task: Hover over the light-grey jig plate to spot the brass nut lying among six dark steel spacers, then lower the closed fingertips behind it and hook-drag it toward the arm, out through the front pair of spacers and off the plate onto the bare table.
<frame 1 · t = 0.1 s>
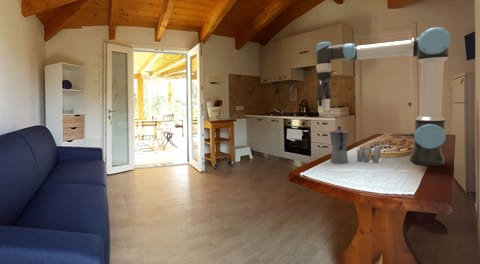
hand: (324, 111, 161), 28 cm above the table, fingers open, 13 cm apart
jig: (369, 161, 159), on the table
moka pot: (339, 164, 157), on the table
nut: (368, 159, 159), point 1 cm above the table, touching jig
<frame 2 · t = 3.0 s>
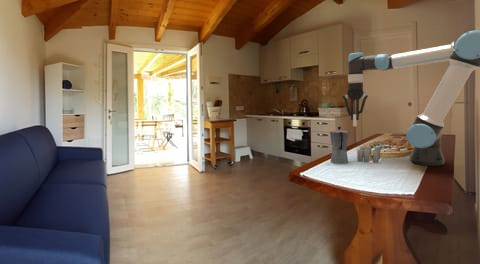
hand: (354, 126, 160), 19 cm above the table, fingers closed
nothing on the table moved.
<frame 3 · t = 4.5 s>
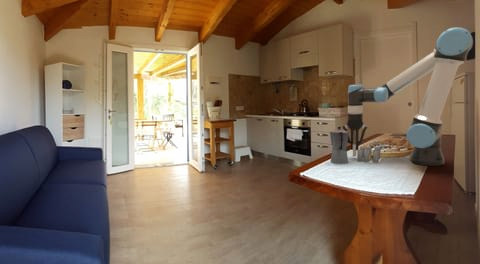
hand: (354, 155, 163), 3 cm above the table, fingers closed
nothing on the table moved.
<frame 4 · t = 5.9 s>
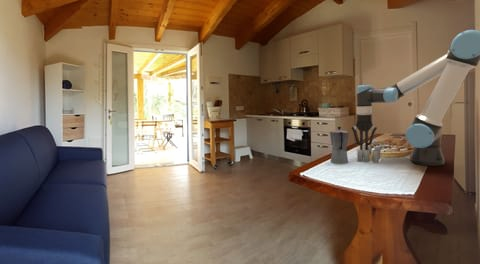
hand: (364, 157, 160), 2 cm above the table, fingers closed
nut: (370, 159, 159), point 1 cm above the table, touching gripper, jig
everything else where it was.
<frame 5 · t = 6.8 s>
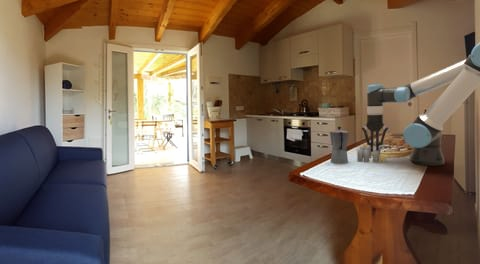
hand: (374, 157, 157), 2 cm above the table, fingers closed
nut: (380, 160, 156), point 1 cm above the table, touching gripper
everything else where it was.
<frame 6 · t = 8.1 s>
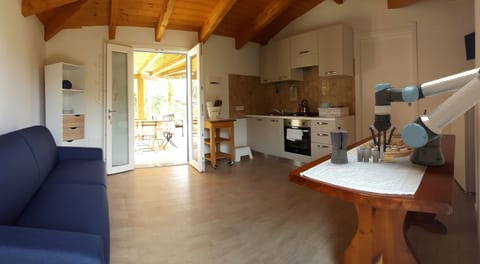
hand: (381, 157, 156), 2 cm above the table, fingers closed
nut: (388, 163, 154), on the table
everything else where it was.
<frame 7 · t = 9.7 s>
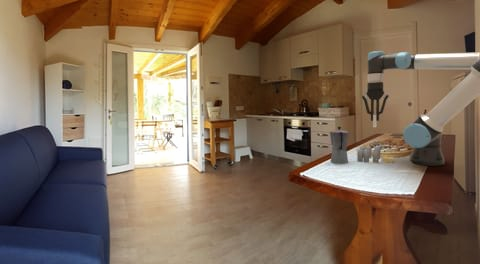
hand: (374, 127, 156), 19 cm above the table, fingers closed
nothing on the table moved.
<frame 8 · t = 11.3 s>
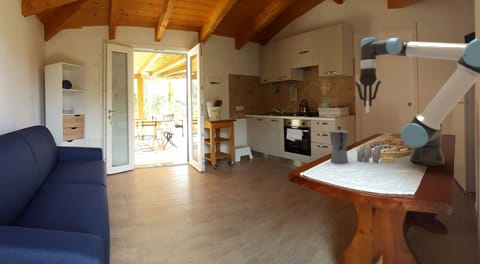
hand: (367, 112, 159), 26 cm above the table, fingers closed
nothing on the table moved.
at the end: nut inside the target area (2.2 cm from its centre), on the table; nut touching table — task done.
